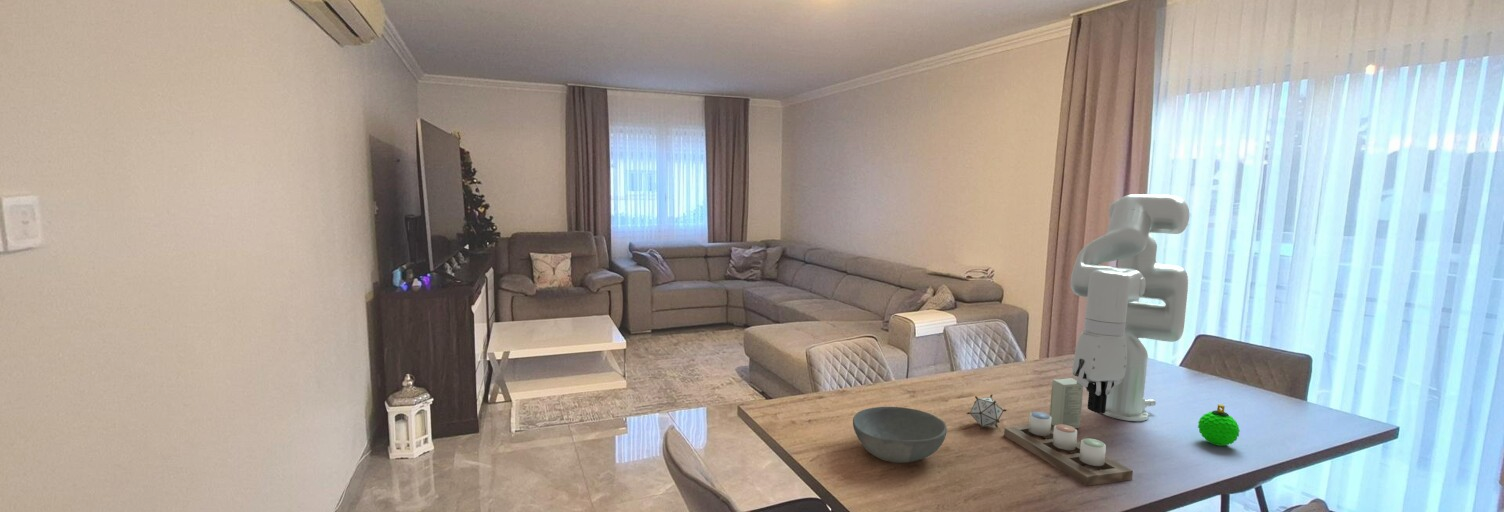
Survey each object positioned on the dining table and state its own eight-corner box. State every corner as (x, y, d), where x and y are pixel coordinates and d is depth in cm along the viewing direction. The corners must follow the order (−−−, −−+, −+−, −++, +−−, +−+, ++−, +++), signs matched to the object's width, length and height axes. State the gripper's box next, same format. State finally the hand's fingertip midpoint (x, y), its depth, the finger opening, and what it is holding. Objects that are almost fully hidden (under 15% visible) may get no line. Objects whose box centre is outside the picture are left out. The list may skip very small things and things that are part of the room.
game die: (991, 442, 156) (1011, 422, 150) (960, 428, 158) (977, 407, 151) (994, 416, 163) (1012, 395, 156) (964, 402, 164) (981, 381, 158)
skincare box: (1068, 421, 162) (1072, 377, 161) (1080, 428, 158) (1084, 383, 156) (1047, 423, 161) (1051, 378, 159) (1059, 430, 156) (1063, 384, 155)
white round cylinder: (1091, 455, 136) (1093, 436, 136) (1109, 464, 132) (1111, 445, 131) (1074, 457, 135) (1075, 438, 134) (1091, 466, 130) (1093, 447, 130)
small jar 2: (1064, 440, 144) (1066, 422, 143) (1080, 449, 139) (1082, 431, 139) (1047, 442, 143) (1049, 424, 142) (1063, 450, 138) (1064, 432, 137)
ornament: (1188, 440, 152) (1193, 401, 151) (1208, 435, 155) (1213, 397, 154) (1224, 453, 145) (1229, 413, 143) (1245, 448, 148) (1250, 409, 147)
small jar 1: (1040, 427, 151) (1041, 410, 151) (1054, 434, 147) (1056, 417, 146) (1024, 428, 150) (1025, 412, 150) (1038, 436, 146) (1039, 419, 145)
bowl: (929, 486, 125) (931, 449, 124) (835, 460, 136) (837, 426, 135) (954, 449, 143) (957, 417, 142) (870, 429, 154) (872, 398, 153)
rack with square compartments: (1044, 431, 155) (1044, 423, 155) (1132, 479, 130) (1133, 470, 130) (1004, 435, 152) (1004, 427, 152) (1086, 485, 127) (1087, 476, 127)
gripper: (1117, 323, 135) (1109, 403, 137) (1062, 324, 131) (1054, 407, 133) (1147, 331, 128) (1138, 415, 130) (1089, 333, 124) (1081, 419, 126)
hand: (1096, 411), depth 131 cm, fingers closed
